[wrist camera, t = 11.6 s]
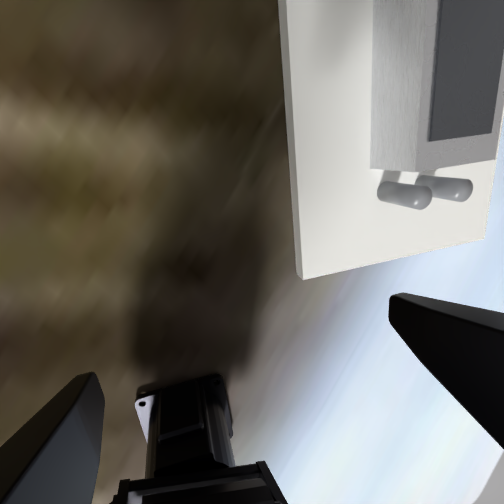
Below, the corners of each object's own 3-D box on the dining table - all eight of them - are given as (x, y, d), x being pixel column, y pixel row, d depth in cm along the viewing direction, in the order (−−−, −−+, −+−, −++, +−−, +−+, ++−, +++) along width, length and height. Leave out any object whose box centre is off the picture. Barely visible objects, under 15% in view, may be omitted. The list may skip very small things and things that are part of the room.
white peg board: (470, 235, 26) (528, 251, 22) (296, 273, 23) (325, 301, 18) (526, -157, 18) (635, -251, 13) (265, -186, 14) (304, -322, 10)
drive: (438, 158, 21) (497, 159, 17) (369, 168, 20) (416, 172, 16) (455, -18, 18) (533, -65, 14) (373, -18, 17) (434, -67, 13)
